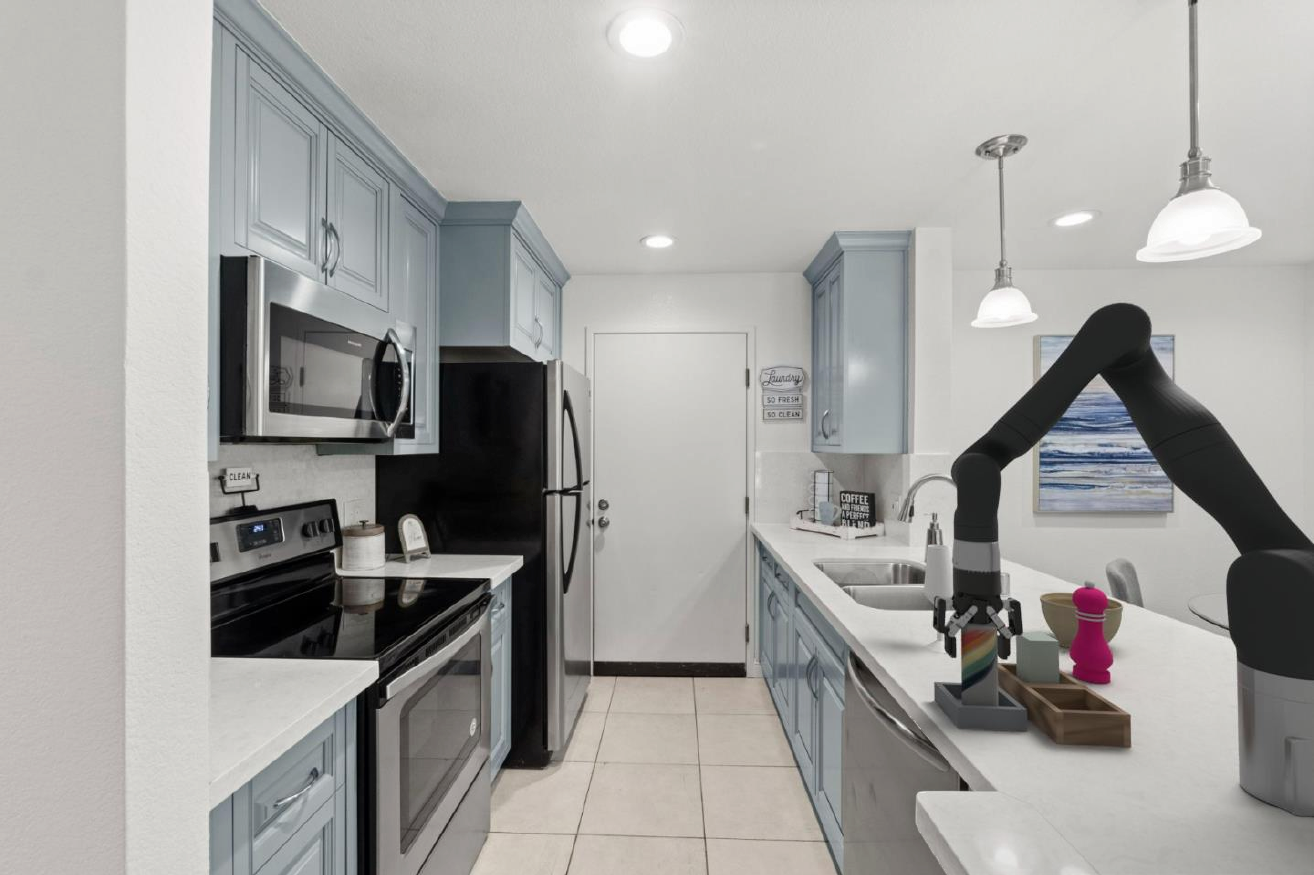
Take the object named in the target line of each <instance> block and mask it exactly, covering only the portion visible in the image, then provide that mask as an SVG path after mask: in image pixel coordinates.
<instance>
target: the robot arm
mask: <svg viewBox="0 0 1314 875" xmlns="http://www.w3.org/2000/svg"><path fill="white" fill-rule="evenodd" d="M1152 328H1153V326H1152V320H1151V316H1150V315H1149V313H1148V312H1147V311H1146V310H1145V309H1144V308H1142V307H1141V306H1140V305H1138V304H1135V303H1131V302H1126V301H1125V302H1114V303H1109V304H1106V305H1103V306H1102V307H1100V308H1098V309H1097V310H1096V311H1094V312H1092V314H1090V316H1089V317H1088V318H1087V319H1086V321H1085V322H1084V323H1083V324H1082V326H1081V327H1080V328H1079V330H1078V331H1077V333H1076V334H1075V335H1074V337H1073V339H1071V341H1070V343H1069V344H1068V346H1066V348H1065V349H1064V350H1063V351H1062V353H1061V354H1060V355H1059V356H1058V358H1057V359H1056V360H1055V362H1053V364H1052V365H1050V367H1049V368H1048V369H1047V371H1046V372H1045V373H1043V375H1042V376H1041V377H1040V378H1039V379H1038V380H1037V382H1035V383H1034V385H1033V386H1032V387H1030V388H1029V390H1028V391H1026V392H1025V393H1024V395H1023V396H1021V397H1020V399H1019V400H1018V401H1017V402H1015V404H1014V405H1012V406H1011V407H1010V408H1009V409H1008V410H1007V411H1006V412H1005V413H1004V414H1003V415H1002V416H1001V417H1000V418H999V419H997V420H996V422H995V423H994V424H993V425H992V426H991V427H990V428H989V430H988V431H987V432H986V433H985V434H984V435H982V436H981V437H980V438H978V439H977V440H976V441H974V442H972V444H971V445H969V447H967V448H966V449H965V450H963V452H962V453H960V454H959V456H958V457H957V458H955V460H954V461H953V463H952V465H951V468H950V476H951V480H952V481H953V483H954V484H955V485H956V505H957V506H956V509H954V514H953V546H952V553H951V560H952V569H953V596H952V598H951V599H948V598H941V597H939V596H936V597H935V598H934V605H933V610H932V611H933V612H932V613H933V615H932V628H933V629H934V630H936V632H937V631H938V632H939V633H943V636H944V637H943V639H944V640H943V641H944V649H945V651H946V652H947V653H946V654H948V657H950V658H951V659H956V658H957V657H958V656H957V652H958V651H957V636H956V635H957V634H958V632H959V631H961V628H963V627H964V626H965V625H966V623H970V624H971V623H973V622H971V617H972V616H974V614H975V613H976V612H977V610H978V609H977V607H976V606H974V605H972V604H971V599H973V598H977V599H982V600H988V601H991V606H987V613H988V615H989V616H990V618H991V622H992V623H994V624H995V625H996V626H997V633H998V634H997V639H998V658H999V659H1001V660H1002V661H1003V660H1004V661H1007V660H1008V658H1009V657H1011V655H1012V654H1011V653H1012V647H1011V646H1012V644H1011V642H1012V641H1011V640H1012V638H1013V637H1016V635H1022V634H1023V632H1024V630H1023V615H1022V614H1023V613H1022V603H1021V602H1020V601H1019V600H1017V599H1015V598H1013V597H1008V598H1007V599H1002V597H1001V595H1002V594H1001V593H1002V582H1001V580H1002V578H1001V572H1002V571H1001V567H1002V566H1001V550H1000V544H999V519H998V516H999V515H998V513H999V512H998V511H999V507H1000V506H999V505H1000V499H1001V492H1002V471H1003V470H1005V468H1006V467H1007V466H1009V465H1010V464H1011V463H1012V462H1013V461H1015V459H1018V458H1020V457H1022V456H1024V455H1026V454H1027V453H1028V452H1029V451H1030V450H1032V448H1033V447H1035V446H1036V445H1037V444H1038V443H1039V442H1040V441H1041V440H1042V439H1043V438H1044V437H1045V436H1046V435H1047V434H1048V433H1049V432H1050V431H1051V430H1052V429H1053V428H1054V427H1055V426H1056V425H1057V424H1058V422H1059V421H1060V420H1061V418H1062V417H1063V416H1065V413H1066V412H1067V411H1068V410H1069V408H1071V405H1072V404H1073V402H1074V401H1075V400H1076V399H1077V398H1078V397H1079V395H1080V394H1081V393H1082V391H1084V389H1086V387H1087V386H1089V384H1090V383H1091V382H1092V381H1093V380H1094V379H1095V378H1096V377H1097V376H1098V375H1099V376H1101V378H1102V379H1103V380H1104V381H1105V382H1106V384H1107V385H1108V386H1109V387H1110V388H1111V390H1113V392H1114V393H1115V395H1116V396H1117V397H1118V398H1119V400H1120V402H1122V405H1123V406H1124V408H1125V410H1126V411H1127V414H1128V415H1129V418H1130V419H1131V421H1132V423H1133V424H1134V426H1135V429H1136V430H1137V432H1138V433H1139V435H1140V437H1141V438H1142V440H1143V442H1144V443H1145V445H1146V448H1147V449H1148V450H1149V452H1150V453H1151V454H1152V456H1153V458H1154V459H1155V461H1156V462H1157V464H1158V465H1159V467H1160V468H1161V470H1162V471H1163V472H1164V474H1165V475H1166V477H1167V478H1168V479H1169V480H1170V481H1171V482H1172V484H1174V485H1175V487H1177V488H1178V489H1179V490H1180V491H1181V492H1182V493H1183V494H1185V496H1186V497H1188V498H1189V499H1190V500H1191V501H1192V502H1194V503H1195V504H1196V505H1198V506H1199V507H1200V508H1201V509H1202V510H1203V511H1205V512H1206V513H1207V514H1208V515H1210V517H1212V518H1213V520H1215V521H1216V522H1217V523H1218V524H1219V525H1220V526H1221V528H1222V529H1223V530H1224V531H1225V533H1226V534H1227V536H1228V537H1229V538H1230V540H1231V541H1232V543H1233V544H1234V546H1235V547H1236V549H1237V550H1238V552H1239V554H1240V556H1238V557H1237V558H1235V560H1234V561H1232V563H1231V564H1230V565H1229V568H1228V570H1227V575H1226V580H1225V581H1226V582H1225V584H1226V585H1225V588H1226V589H1225V593H1226V594H1225V596H1226V608H1227V619H1228V621H1227V622H1228V623H1227V624H1228V630H1229V631H1228V632H1229V633H1228V634H1229V636H1230V639H1231V641H1232V643H1233V646H1234V647H1235V651H1236V680H1237V681H1236V686H1237V690H1236V691H1237V692H1236V694H1237V696H1236V697H1237V728H1238V730H1237V731H1238V734H1237V737H1238V763H1239V764H1238V770H1239V771H1238V773H1239V785H1240V786H1241V788H1242V789H1243V790H1244V791H1246V792H1247V793H1248V794H1250V795H1252V796H1253V797H1255V798H1257V799H1259V800H1261V801H1263V802H1265V803H1267V804H1270V805H1273V806H1276V807H1278V808H1281V809H1283V810H1286V811H1288V812H1289V813H1291V814H1293V815H1295V816H1305V817H1307V816H1309V817H1314V543H1313V541H1311V539H1310V538H1309V537H1308V536H1307V535H1306V534H1305V533H1304V532H1303V531H1302V529H1301V528H1300V527H1299V526H1298V525H1297V524H1296V523H1295V522H1294V521H1293V520H1292V518H1290V516H1289V515H1288V514H1287V513H1286V512H1285V511H1284V509H1283V508H1282V507H1281V505H1280V504H1279V503H1278V501H1277V500H1276V498H1275V497H1274V496H1273V494H1272V493H1271V492H1270V490H1269V488H1268V487H1267V485H1266V484H1265V483H1264V481H1263V480H1262V478H1261V477H1260V475H1258V473H1257V471H1256V470H1255V469H1254V467H1253V466H1252V465H1251V464H1250V462H1249V461H1248V459H1247V458H1246V457H1245V455H1244V453H1243V451H1242V450H1241V449H1240V447H1239V446H1238V444H1237V443H1236V442H1235V440H1234V439H1233V438H1232V436H1231V435H1230V434H1229V433H1228V431H1227V429H1226V428H1225V427H1224V425H1222V423H1221V422H1220V420H1219V419H1218V418H1216V416H1215V415H1214V413H1212V412H1211V411H1210V410H1209V409H1208V408H1207V407H1206V406H1205V405H1203V404H1202V403H1201V402H1200V401H1198V400H1197V399H1195V397H1193V396H1192V395H1191V394H1189V393H1188V392H1187V391H1185V390H1183V389H1182V388H1181V387H1179V385H1177V383H1175V382H1174V380H1173V379H1172V378H1171V377H1170V376H1169V374H1168V373H1167V372H1166V370H1165V369H1164V367H1163V366H1162V364H1161V362H1160V361H1159V359H1158V357H1157V355H1156V354H1155V351H1154V350H1153V347H1152V345H1151V338H1152V332H1153V331H1152V330H1153V329H1152ZM950 606H952V608H953V609H954V610H955V611H954V612H953V613H952V614H951V615H950V617H949V620H948V622H947V623H946V615H947V614H946V612H947V611H949V609H950ZM1003 608H1004V610H1005V611H1006V612H1007V619H1008V620H1007V621H1008V626H1006V624H1005V622H1004V621H1003V620H1002V618H1001V617H1000V616H999V614H1000V612H1001V610H1002V609H1003Z"/></svg>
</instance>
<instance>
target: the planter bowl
mask: <svg viewBox="0 0 1314 875" xmlns="http://www.w3.org/2000/svg"><path fill="white" fill-rule="evenodd" d="M1073 593H1074V592H1047V593H1043V594H1041V595H1039V600H1040V603H1041V612H1042V614H1043V617H1044V618H1043V619H1044V621H1045V622H1046V624H1047V626H1048V628H1049V629H1050V631H1051V632H1052V633H1053V634H1054V636H1055V637H1056V640H1057V641H1059V645H1060V646H1063V647H1065V648H1068V649H1070V647H1071V644H1072V642H1073V640H1074V638H1075V637H1076V634H1077V631H1078V624H1079V623H1078V618H1077V617H1076V616H1075V615H1076V611H1075V610H1077V607H1076V606H1075V605H1074V603H1073V600H1072V596H1073ZM1123 610H1124V604H1123V603H1122V602H1120V601H1118V600H1115V599H1111V598H1108V607H1107V609H1105V610H1104V613H1105V614H1106V615H1105V619H1106V620H1105V621H1103V634H1104V637H1105V640H1106V642H1107V644H1108V645H1109V643H1110V642H1111V641H1112V640H1113V639H1114V638H1115V636H1116V635H1117V633H1118V632H1119V629H1120V627H1121V622H1122V617H1123V616H1122V615H1123Z"/></svg>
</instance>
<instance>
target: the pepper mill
mask: <svg viewBox="0 0 1314 875" xmlns="http://www.w3.org/2000/svg"><path fill="white" fill-rule="evenodd" d="M1083 584H1084V586H1082V587H1079V588H1076V590H1074V591H1073V592H1072V593H1073V596H1072V600H1073V603H1074V605H1075V606H1076V607H1077V610H1075V611H1076V615H1075V616H1076V617H1077V618H1078V623H1079V624H1078V631H1077V634H1076V637H1075V638H1074V640H1073V642H1072V644H1071V647H1070V648H1069V657H1070V659H1071V660H1072V661H1073V662H1074V665H1073V666H1072V675H1073V677H1075V678H1076V679H1078V680H1080V681H1085V682H1087V683H1090V684H1091V683H1092V684H1093V683H1094V684H1104V685H1105V684H1109V683H1110V682H1111V672H1110V671H1109V670H1108V669H1109V668H1110V667H1112V666H1113V664H1114V655H1113V653H1112V650H1111V648H1110V645H1109V643H1108V644H1107V642H1106V640H1105V637H1104V634H1103V621H1105V620H1106V619H1105V615H1106V614H1105V613H1104V610H1105V609H1107V607H1108V599H1109V598H1108V597H1107V595H1106V593H1104V592H1103V591H1102V590H1100V589H1099V588H1096V583H1095V581H1093V580H1092V579H1087V580H1085V581H1084V583H1083Z"/></svg>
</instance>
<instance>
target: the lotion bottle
mask: <svg viewBox="0 0 1314 875" xmlns="http://www.w3.org/2000/svg"><path fill="white" fill-rule="evenodd" d="M971 604H972V605H974V606H976V607H977V609H978V610H977V612H976V613H975V614H974V616H972V617H971V622H973V623H971V624H970V623H966V625H965V626H964V627H963V628H961V629H960V667H961V668H960V670H961V672H960V673H961V676H960V679H961V680H960V683H961V688H962V705H975V706H998V663H999V661H998V660H999V656H998V639H997V635H998V631H997V626H996V625H995V624H994V623H992V622H991V618H990V616H989V615H988V613H987V606H991V601H988V600H982V599H977V598H973V599H971Z"/></svg>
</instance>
